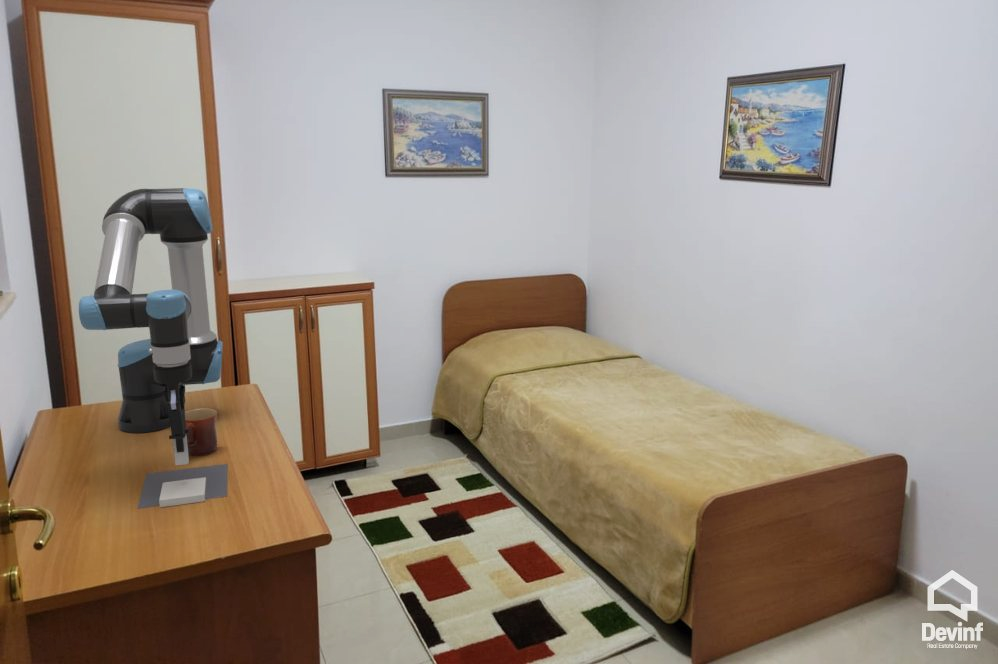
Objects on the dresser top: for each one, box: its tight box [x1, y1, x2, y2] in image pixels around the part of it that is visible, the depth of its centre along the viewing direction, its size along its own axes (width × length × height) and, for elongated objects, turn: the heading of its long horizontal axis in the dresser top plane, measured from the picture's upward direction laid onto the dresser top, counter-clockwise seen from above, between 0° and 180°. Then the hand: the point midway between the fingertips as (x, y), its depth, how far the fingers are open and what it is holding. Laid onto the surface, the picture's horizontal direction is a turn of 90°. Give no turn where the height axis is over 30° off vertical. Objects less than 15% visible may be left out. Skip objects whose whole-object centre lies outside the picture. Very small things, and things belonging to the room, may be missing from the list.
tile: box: [159, 477, 206, 508], centre depth 161 cm, size 2×9×9 cm
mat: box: [137, 463, 229, 509], centre depth 166 cm, size 18×18×1 cm
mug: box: [185, 407, 218, 457], centre depth 182 cm, size 12×9×10 cm
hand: (182, 463), depth 163 cm, fingers closed
